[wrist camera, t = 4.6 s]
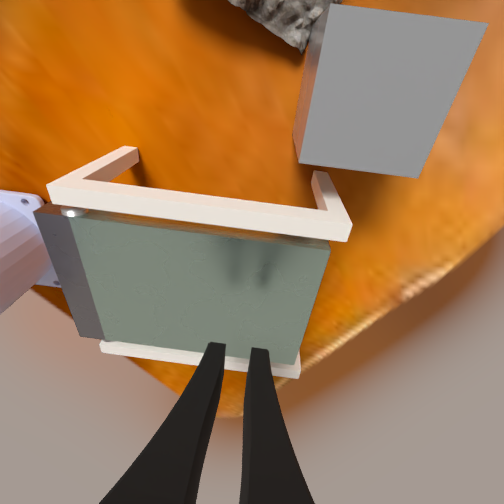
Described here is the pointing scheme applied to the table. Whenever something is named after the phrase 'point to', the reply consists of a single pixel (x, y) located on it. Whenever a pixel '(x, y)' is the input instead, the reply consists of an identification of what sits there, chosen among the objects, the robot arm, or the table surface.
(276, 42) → the table surface
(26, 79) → the table surface
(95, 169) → the miniature coffee table
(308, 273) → the trapdoor plate
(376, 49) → the stone block
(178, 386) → the table surface
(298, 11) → the stone fragment
